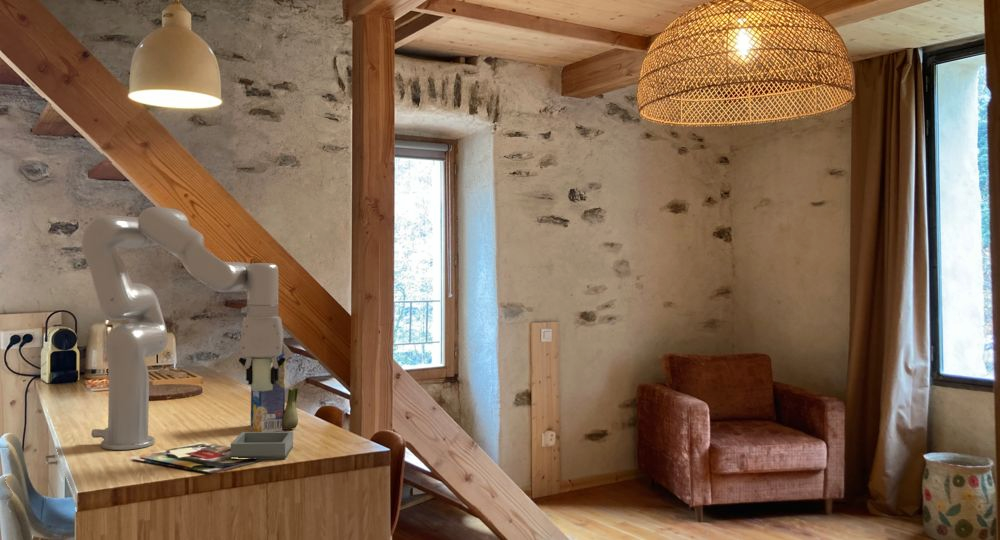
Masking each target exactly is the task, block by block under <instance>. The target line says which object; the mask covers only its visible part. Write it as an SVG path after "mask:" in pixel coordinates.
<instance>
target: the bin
mask: <svg viewBox="0 0 1000 540" xmlns="http://www.w3.org/2000/svg"><path fill="white" fill-rule="evenodd" d="M293 447H294V431H276V432H258V431H241V433H240V434H239V435H238V436H236V437H235V439H234V440H232V442H230V458H231V457H238V458H256V459H260V460H259V461H264V460H265V461H267V460H268V461H271V460H272V461H273V460H275V461H276V460H278V461H280V460H286V459H287V457H288V456H289V454H290V452H291V451H292V449H293Z"/></svg>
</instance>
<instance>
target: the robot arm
mask: <svg viewBox="0 0 1000 540" xmlns="http://www.w3.org/2000/svg"><path fill="white" fill-rule="evenodd" d="M204 243H205V237H204V235H203V234H202V233H201V232H200V231H198V230H197V229H196V228H194V227H192V226H190V221H189V218H188V217H187V215H186V214H185V213H184V212H182V211H180V210H179V209H176V208H172V207H171V208H170V207H162V206H151V207H148V208H145V209H144V210H143V211H142V212H140V214H139V215H138V216H126V215H116V214H106V215H102V216H99V217H96V218H94V219H93V220H92V221H90V222H89V223H88V225H87V226H86V228H85V229H84V231H83V234H82V239H81V246H82V252H83V255H84V259H85V261H86V263H87V266H88V269H89V271H90V274H91V277H92V282H93V285H94V289H95V293H96V296H97V299H98V300H97V301H98V302H99V303H98V304H99V306H100V309H101V311H102V314H103V315H104V316H105V317H106V318H107V319H109V320H113V321H122V320H123V321H124V320H128V321H129V323H123V324H120V325H116V326H115V327H114V328H112V329H111V330H110V331H109V332H108V333H107V336H106V337H105V341H104V350H105V353H106V354H105V355H106V358H107V359H106V360H107V361H106V362H107V366H108V368H107V371H108V402H107V403H108V406H107V407H108V408H107V409H108V410H107V411H108V412H107V416H108V417H107V427H106V428H104V429H99V428H93V429H91V437H92V438H93V439H95V438H96V439H97V438H99V439H100V438H101V439H103V440H102V441H101V442H100V443H101V444H100V447H101V448H103V449H104V450H105V449H106V450H112V451H113V450H114V451H124V450H126V451H128V450H135V449H142V448H146V447H150V446H152V445H154V443H155V437H153V436H152V435H149V405H150V401H149V399H150V392H149V391H150V376H149V369H148V366H147V363H146V360H145V358H149V357H154V356H157V355H160V354H161V353H162V352H163V351H164V350H165V349H166V347H167V345H168V343H169V342H168V341H169V336H168V335H169V334H168V329H167V325H166V323H165V320H164V316H163V313H162V309H161V305H160V301H159V298H158V296H157V295H156V293H155V291H154V290H153V289H152V288H151V287H149V286H148V285H146V284H144V283H139V282H132V280H131V278H130V275H129V272H128V267H127V264H126V262H125V261H124V259H123V258H122V256H121V255H120V254H119V253H118V249H143V248H149V247H154V246H157V245H158V246H159V247H161V248H162V249H164V250H165V251H167V252H168V253H169V254H171V255H172V256H174V257H176V258H177V259H178V260H179V261H180V262H181V264H182V266H183V267H184V268H185V270H186V271H187V272H188V273H189V274H190V276H192V277H193V278H195V279H196V280H197V281H199V282H200V283H202V284H204V285H205V286H206V287H208V288H209V289H211V290H213V291H216V292H219V293H230V292H232V293H233V292H234V293H236V292H244V291H247V295H246V306H244V307H241V309H240V312H241V313H242V314H246V316H245V317H243V321H242V325H241V331H240V344H239V346H238V347H236V349H235V351H233V353H232V357H233V358H234V359H236V361H238V362H239V363H240V364H241V365H242V367H244V368H245V371H246V372H245V376H246V377H245V378H246V379H245V380H246V382H248V385H251V384H252V358H254V357H271V360H272V363H273V369H271V384H272V385H273V384H275V383H276V381H278V379H279V367H280V366H281V365H282V364H283V363H284V362H285V363H286V361H287V360H289V358H291V357H292V356H293V352H292V351H291V350H290V349H289V347H288V346H287V345H286V344H285V341H284V340H285V339H284V329H283V328H284V327H283V322H282V318H281V317H280V316H279V266H278V265H277V264H276V263H271V262H256V263H255V262H254V263H249V262H243V261H224V260H222V259H220V258H219V257H217V256H216V255H215V254H213V253H212V252H210V251H209V250H207V248H206V247H205V246H204ZM283 353H284V354H285V355H284V356H283V357H282V358H281V359H280V360H279V359H278V356H280V355H281V354H283Z"/></svg>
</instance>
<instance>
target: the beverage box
mask: <svg viewBox="0 0 1000 540" xmlns="http://www.w3.org/2000/svg"><path fill="white" fill-rule="evenodd" d="M284 355H285V353H284V352H283V354H281V355H280V356H278V359H279V360H280V359H281V358H282V357H283V356H284ZM250 389H251V391H250V427H252V428H253V429H254V430H255V431H256V432H285V429H284V428H282V426H281V423H282V418H283V414H284V411H285V408H286V405H285V404H286V403H285V401H286V400H285V399H286V361H285V362H284V363H283V364H282V365H281V366H280V367H279V379H278V381H276V383H275V384H273V389H272V390H269V391H253V390H252V384H251V387H250Z"/></svg>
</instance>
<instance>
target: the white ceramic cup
mask: <svg viewBox="0 0 1000 540" xmlns="http://www.w3.org/2000/svg"><path fill="white" fill-rule="evenodd" d="M271 369H273V363H272V360H271V357H254V358H252V390H253V391H269V390H272V389H273V385H272V384H271Z"/></svg>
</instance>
